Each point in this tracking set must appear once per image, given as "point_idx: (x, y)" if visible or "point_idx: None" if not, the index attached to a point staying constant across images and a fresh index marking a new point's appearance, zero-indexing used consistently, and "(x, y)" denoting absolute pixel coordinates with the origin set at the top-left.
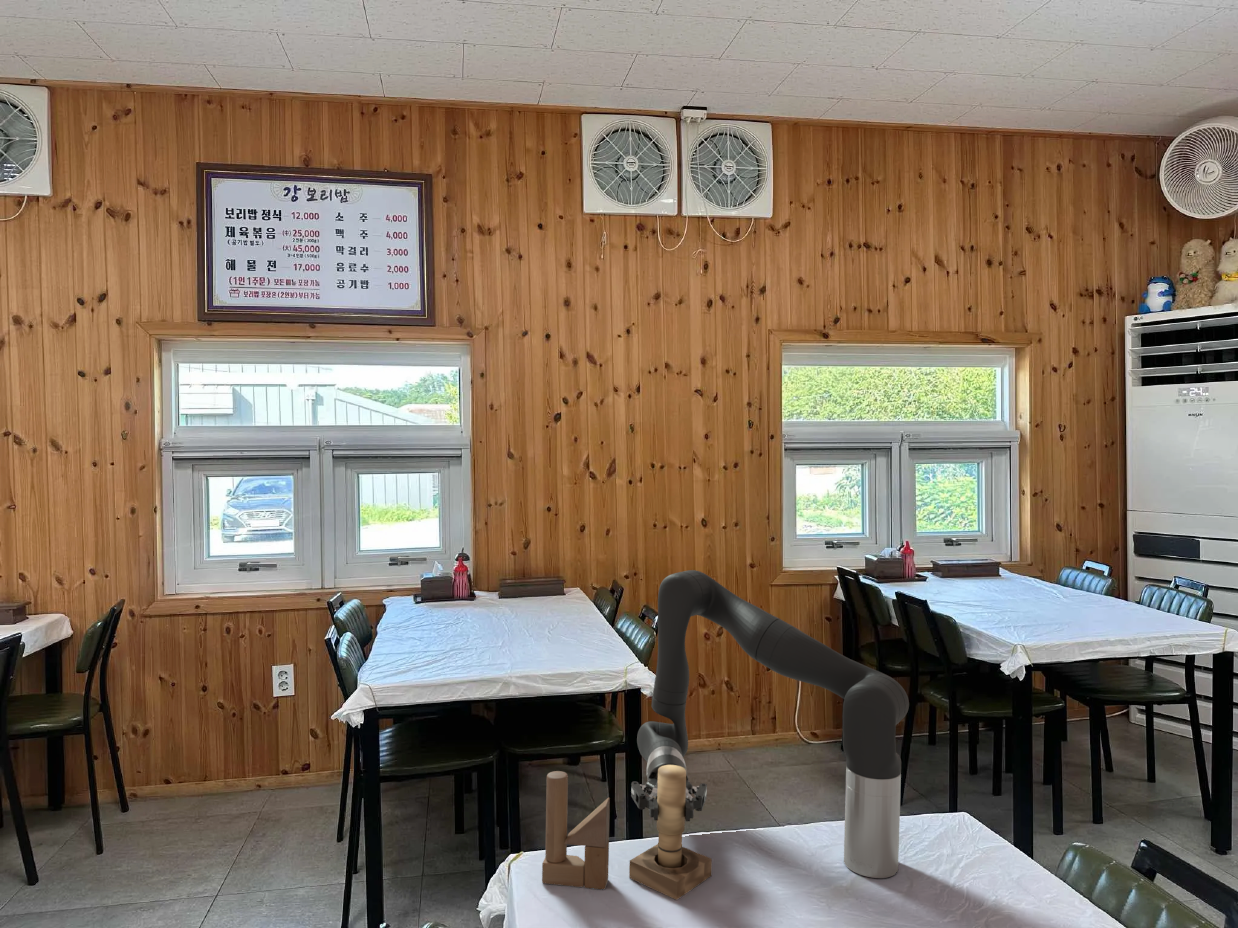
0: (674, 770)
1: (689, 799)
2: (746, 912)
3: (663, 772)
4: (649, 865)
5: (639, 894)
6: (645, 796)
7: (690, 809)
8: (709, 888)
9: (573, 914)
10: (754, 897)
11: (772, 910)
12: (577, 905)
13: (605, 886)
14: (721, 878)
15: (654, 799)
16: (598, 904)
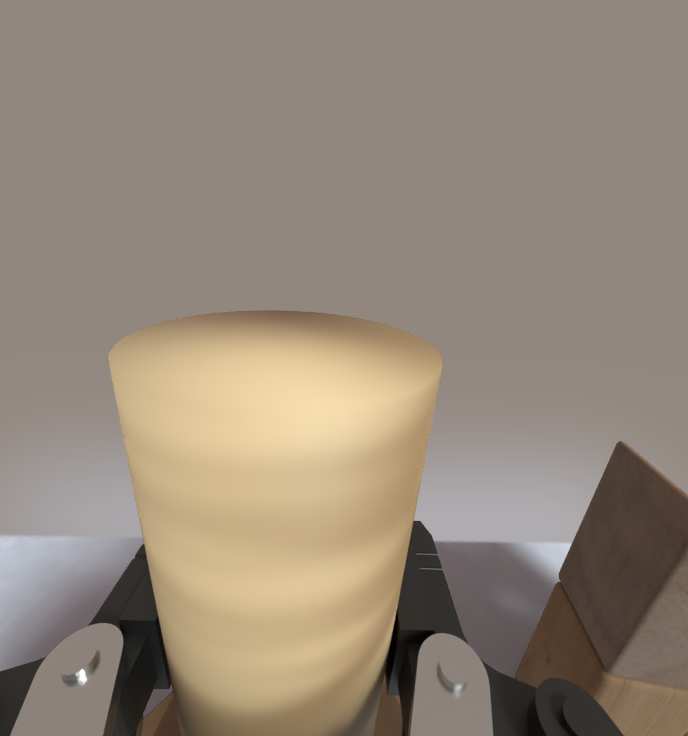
0: (262, 343)
1: (104, 629)
2: (126, 559)
3: (376, 333)
4: (382, 706)
5: None
6: (530, 720)
7: None
8: (152, 699)
9: (528, 555)
10: (36, 634)
11: (49, 566)
12: (542, 589)
13: (517, 678)
14: None
15: (421, 614)
16: (494, 594)
